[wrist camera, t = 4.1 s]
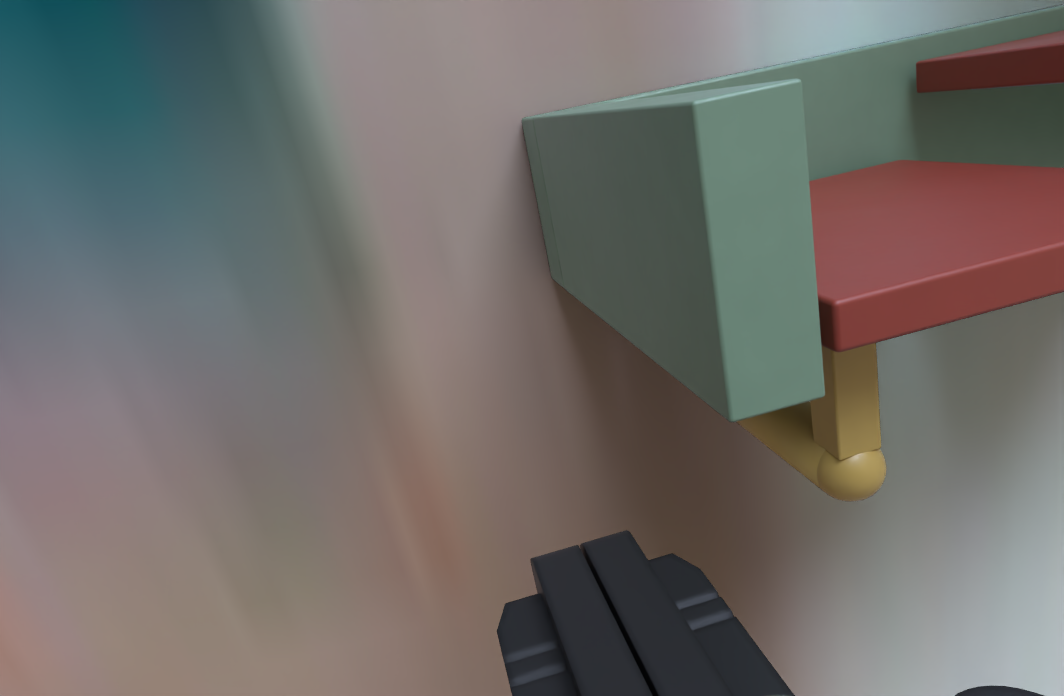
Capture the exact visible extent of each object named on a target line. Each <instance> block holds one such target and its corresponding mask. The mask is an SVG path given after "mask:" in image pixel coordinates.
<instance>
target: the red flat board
mask: <svg viewBox="0 0 1064 696" xmlns="http://www.w3.org/2000/svg"><path fill="white" fill-rule="evenodd" d="M809 185H810V198H811V212H812V225H813V239H814V252H815V266H816V279H817V292H818V306H819V319H820V333H821V346H822V359H823V373H824V386H825V396H824V397H822V398H819V399H815V400H812V401H810V402H811V403H810V402H809V401H808V402H805V403H801V404H798V405H794V406H790V407H787V408H783V409H780V410H776V411H773V412H769V413H765V414H762V415H758V416H755V417H751V418H748V419H744V420H740V421H737V423H738V424H739V425H741V426H742V427H743V428H744V429H746V430H747V431H748V432H749V433H751V434H752V435H753V436H754V437H756V438H757V439H758V440H760V441H761V442H762V443H763V444H765V445H766V446H767V447H768V448H770V449H771V450H772V451H773V452H775V453H776V454H777V455H778V456H780V457H781V458H782V459H784V460H785V461H786V462H787V463H789V464H790V465H791V466H792V467H794V468H795V469H796V470H797V471H799V472H800V473H801V474H802V475H804V476H805V477H806V478H808V479H809V480H810V481H811V482H813V483H814V484H815V485H816V486H818V487H819V488H820V489H821V490H823V491H824V492H825V493H827V494H828V495H830V496H831V497H833V498H836V499H838V500H842V501H860V500H864V499H866V498H868V497H870V496H872V495H873V494H875V493H876V492H877V491H878V490H879V489H880V487H881V486H882V484H883V482H884V480H885V476H886V462H885V458H884V456H883V453H882V452H881V450H880V448H881V433H880V412H879V392H878V372H877V352H876V343H877V342H880V341H884V340H888V339H891V338H895V337H899V336H902V335H906V334H910V333H913V332H917V331H921V330H924V329H928V328H932V327H935V326H939V325H943V324H946V323H950V322H954V321H958V320H961V319H965V318H969V317H972V316H976V315H980V314H983V313H987V312H991V311H994V310H998V309H1002V308H1005V307H1009V306H1013V305H1016V304H1020V303H1024V302H1028V301H1031V300H1035V299H1039V298H1042V297H1046V296H1050V295H1053V294H1057V293H1061V292H1064V168H1056V167H1036V166H1016V165H995V164H975V163H955V162H935V161H915V160H897V161H893V162H888V163H884V164H880V165H876V166H871V167H867V168H863V169H859V170H854V171H850V172H846V173H842V174H837V175H833V176H829V177H824V178H820V179H816V180H812V181H809Z"/></svg>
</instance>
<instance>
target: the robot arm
mask: <svg viewBox="0 0 1064 696" xmlns="http://www.w3.org/2000/svg"><path fill="white" fill-rule="evenodd" d="M531 566H532V571H533V575H534V579H535V584H536V588H537V592H538V594H535V595H532V596H529V597H525V598H522V599H519V600H515V601H512V602H509V603H505V606H504V610H503V613H502V616H501V619H500V622H499V626H498V629H497V634H498V638H499V642H500V646H501V651H502V655H503V659H504V663H505V667H506V671H507V675H508V680H509V684H510V688H511V692H512V696H795V695H794V694H793V693H792V692H791V690H790V689H789V688H788V686H787V685H786V684H785V682H784V681H783V680H782V678H781V677H780V675H779V674H778V673H777V671H776V670H775V669H774V667H773V666H772V665H771V663H770V662H769V661H768V659H767V658H766V657H765V655H764V654H763V653H762V651H761V650H760V649H759V647H758V646H757V645H756V643H755V642H754V641H753V639H752V638H751V637H750V635H749V634H748V633H747V631H746V630H745V628H744V627H743V626H742V624H741V623H740V622H739V620H738V619H737V618H736V617H734V616H733V614H732V611H731V610H730V608H729V607H728V606H727V604H726V603H725V602H724V600H723V599H722V598H721V597H719V596H718V592H717V591H716V590H715V588H714V587H713V585H712V584H711V583H710V581H709V580H708V579H707V577H706V576H705V575H704V573H703V572H702V571H701V569H699V568H698V567H696V566H694V565H692V564H690V563H689V562H687V561H685V560H683V559H682V558H680V557H678V556H676V555H674V554H673V553H672V554H668V555H665V556H662V557H658V558H655V559H651V560H647V558H646V556H645V555H644V553H643V552H642V550H641V549H640V547H639V545H638V544H637V542H636V541H635V539H634V538H633V536H632V535H631V533H630V532H629V531H628V530H626V531H623V532H619V533H616V534H612V535H609V536H606V537H602V538H599V539H595V540H592V541H588V542H585V543H582V544H581V545H580V547H579V546H578V545H576V546H572V547H569V548H565V549H562V550H558V551H555V552H552V553H548V554H545V555H541V556H538V557H535V558H531ZM955 696H1044V695H1040V694H1037V693H1034V692H1031V691H1027V690H1023V689H1019V688H1013V687H1006V686H981V687H976V688H971V689H967V690H965V691H962V692H960V693H958V694H956V695H955Z"/></svg>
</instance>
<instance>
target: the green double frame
mask: <svg viewBox="0 0 1064 696" xmlns="http://www.w3.org/2000/svg"><path fill="white" fill-rule="evenodd" d="M522 125H523V131H524V136H525V141H526V146H527V152H528V157H529V162H530V167H531V172H532V178H533V183H534V188H535V193H536V199H537V204H538V209H539V214H540V220H541V225H542V230H543V235H544V240H545V246H546V251H547V256H548V261H549V267H550V272H551V277H552V279H553V280H555V281H556V282H557V283H558V284H560V285H561V286H562V287H563V288H565V289H566V290H567V291H568V292H569V293H570V294H572V295H573V296H574V297H575V298H577V299H578V300H579V301H580V302H582V303H583V304H584V305H585V306H586V307H588V308H589V309H590V310H591V311H593V312H594V313H595V314H596V315H598V316H599V317H600V318H601V319H603V320H604V321H605V322H606V323H608V324H609V325H610V326H611V327H613V328H614V329H615V330H616V331H618V332H619V333H620V334H621V335H622V336H624V337H625V338H626V339H627V340H629V341H630V342H631V343H632V344H634V345H635V346H636V347H637V348H639V349H640V350H641V351H642V352H644V353H645V354H646V355H647V356H649V357H650V358H651V359H652V360H654V361H655V362H656V363H657V364H658V365H660V366H661V367H662V368H663V369H665V370H666V371H667V372H668V373H670V374H671V375H672V376H673V377H675V378H676V379H677V380H678V381H680V382H681V383H682V384H683V385H685V386H686V387H687V388H688V389H690V390H691V391H692V392H693V393H694V394H696V395H697V396H698V397H699V398H701V399H702V400H703V401H704V402H706V403H707V404H708V405H709V406H711V407H712V408H713V409H714V410H716V411H717V412H718V413H719V414H721V415H722V416H723V417H724V418H726V419H727V420H728V421H729V422H737V421H740V420H744V419H748V418H751V417H755V416H758V415H762V414H765V413H769V412H773V411H776V410H780V409H783V408H787V407H790V406H794V405H798V404H801V403H805V402H808V401H812V400H815V399H819V398H822V397H824V396H825V386H824V373H823V359H822V346H821V333H820V319H819V306H818V292H817V279H816V266H815V252H814V239H813V225H812V212H811V198H810V185H809V181H812V180H816V179H820V178H824V177H829V176H833V175H837V174H842V173H846V172H850V171H854V170H859V169H863V168H867V167H871V166H876V165H880V164H884V163H888V162H893V161H897V160H915V161H935V162H955V163H975V164H995V165H1016V166H1036V167H1056V168H1063V167H1064V5H1060V6H1055V7H1050V8H1046V9H1041V10H1036V11H1031V12H1027V13H1022V14H1017V15H1012V16H1007V17H1003V18H998V19H993V20H988V21H984V22H979V23H974V24H969V25H964V26H960V27H955V28H950V29H945V30H941V31H936V32H931V33H926V34H921V35H917V36H912V37H907V38H902V39H898V40H893V41H888V42H883V43H879V44H874V45H869V46H864V47H859V48H855V49H850V50H845V51H840V52H836V53H831V54H826V55H821V56H816V57H812V58H807V59H802V60H797V61H793V62H788V63H783V64H778V65H773V66H769V67H764V68H759V69H754V70H750V71H745V72H740V73H735V74H730V75H726V76H721V77H716V78H711V79H707V80H702V81H697V82H692V83H687V84H683V85H678V86H673V87H668V88H664V89H659V90H654V91H649V92H644V93H640V94H635V95H630V96H625V97H621V98H616V99H611V100H606V101H601V102H597V103H592V104H587V105H582V106H578V107H573V108H568V109H563V110H558V111H554V112H549V113H544V114H539V115H535V116H530V117H525V118H523V119H522Z"/></svg>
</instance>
